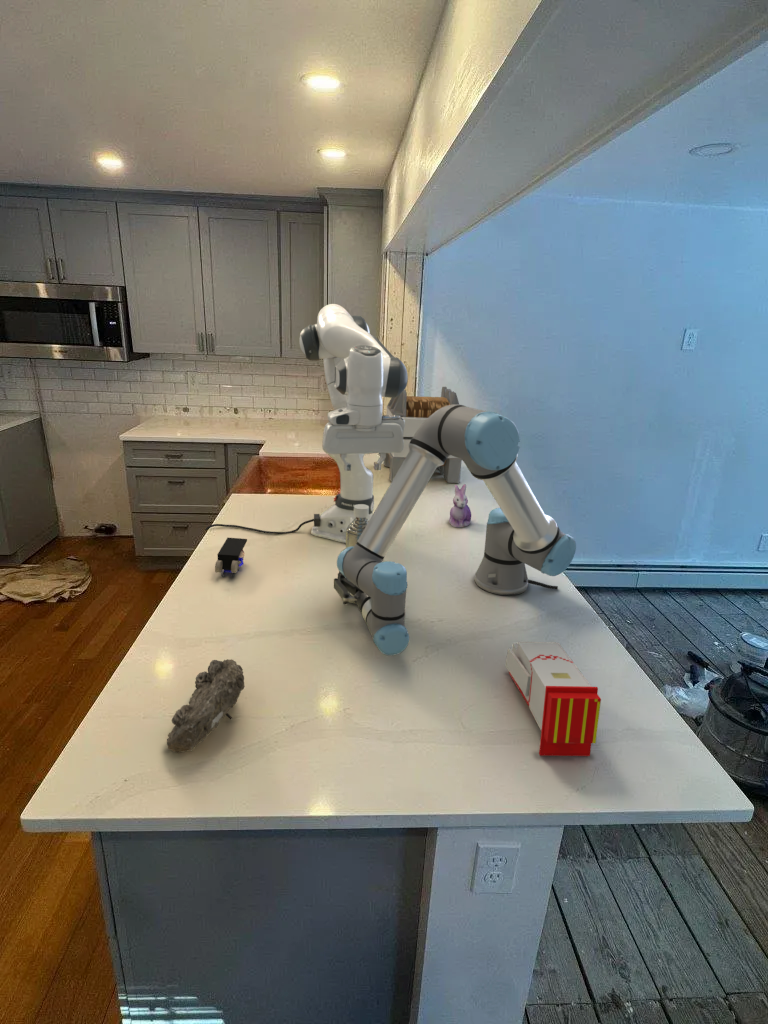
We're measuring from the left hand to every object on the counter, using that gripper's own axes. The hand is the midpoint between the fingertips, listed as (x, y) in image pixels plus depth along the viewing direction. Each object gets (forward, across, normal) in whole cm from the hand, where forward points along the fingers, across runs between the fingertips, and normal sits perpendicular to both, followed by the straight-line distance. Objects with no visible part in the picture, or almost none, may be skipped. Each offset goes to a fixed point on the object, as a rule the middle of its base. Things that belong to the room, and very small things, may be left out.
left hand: (362, 470), depth 143 cm
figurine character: (+36, +33, -22) cm, 54 cm away
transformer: (+36, -54, -117) cm, 134 cm away
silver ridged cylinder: (+36, 0, 0) cm, 36 cm away
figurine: (+36, -49, -50) cm, 78 cm away
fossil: (+36, +37, +42) cm, 67 cm away
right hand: (+30, 0, -5) cm, 30 cm away
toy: (+36, -28, +51) cm, 69 cm away
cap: (+10, 0, 0) cm, 10 cm away
